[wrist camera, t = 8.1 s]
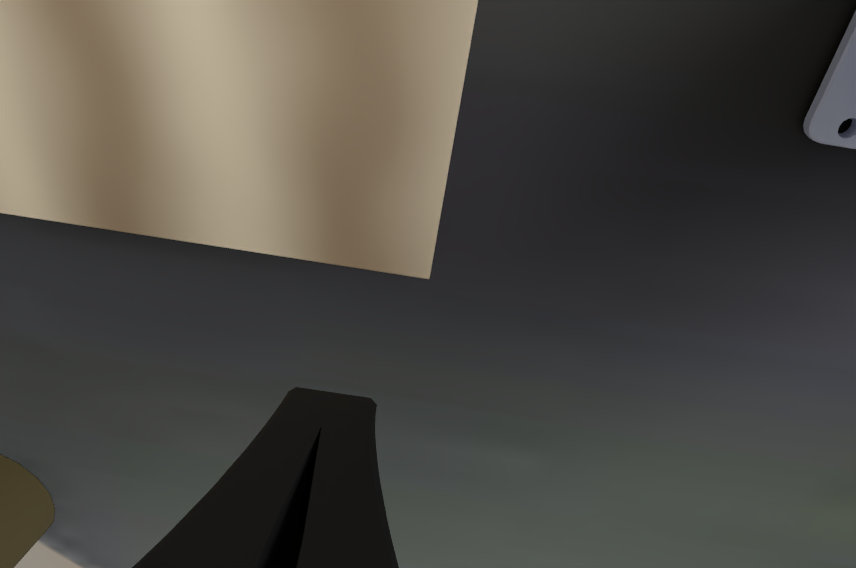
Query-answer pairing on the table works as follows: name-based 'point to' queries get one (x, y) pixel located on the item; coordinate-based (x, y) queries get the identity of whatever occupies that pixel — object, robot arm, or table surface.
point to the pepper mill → (21, 512)
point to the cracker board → (237, 121)
